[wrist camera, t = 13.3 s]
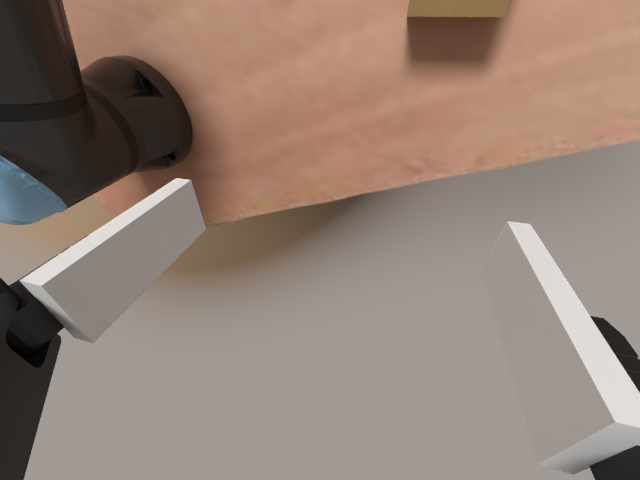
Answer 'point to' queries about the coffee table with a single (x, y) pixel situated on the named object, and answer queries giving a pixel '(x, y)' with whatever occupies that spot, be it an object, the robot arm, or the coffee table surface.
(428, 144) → the coffee table surface
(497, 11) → the gold knuckled block
